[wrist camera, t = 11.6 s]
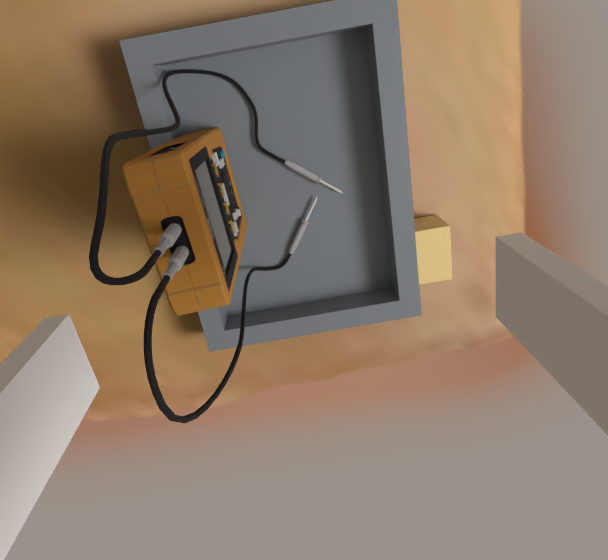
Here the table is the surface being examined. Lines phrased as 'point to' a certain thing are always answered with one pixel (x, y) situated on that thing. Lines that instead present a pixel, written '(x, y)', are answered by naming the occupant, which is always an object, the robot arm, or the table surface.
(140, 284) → the table surface
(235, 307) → the tray
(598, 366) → the robot arm
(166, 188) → the multimeter
